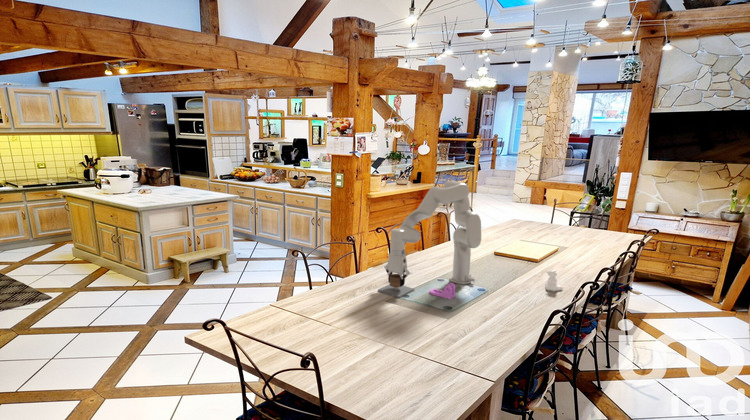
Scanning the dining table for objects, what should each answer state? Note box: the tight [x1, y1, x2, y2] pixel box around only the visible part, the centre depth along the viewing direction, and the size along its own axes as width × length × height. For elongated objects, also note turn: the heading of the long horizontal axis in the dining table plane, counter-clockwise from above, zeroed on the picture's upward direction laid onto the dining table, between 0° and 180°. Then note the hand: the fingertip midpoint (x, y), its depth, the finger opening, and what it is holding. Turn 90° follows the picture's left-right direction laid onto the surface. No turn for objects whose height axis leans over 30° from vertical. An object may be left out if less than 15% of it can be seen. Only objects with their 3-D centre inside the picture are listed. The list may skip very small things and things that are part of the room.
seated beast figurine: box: [544, 268, 564, 292], centre depth 227 cm, size 10×9×12 cm
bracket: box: [429, 282, 456, 300], centre depth 216 cm, size 13×6×7 cm, turn 56°
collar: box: [389, 273, 401, 287], centre depth 220 cm, size 7×7×5 cm
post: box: [377, 283, 415, 299], centre depth 220 cm, size 14×14×7 cm
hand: (396, 283), depth 220 cm, fingers closed on collar, 7 cm apart
